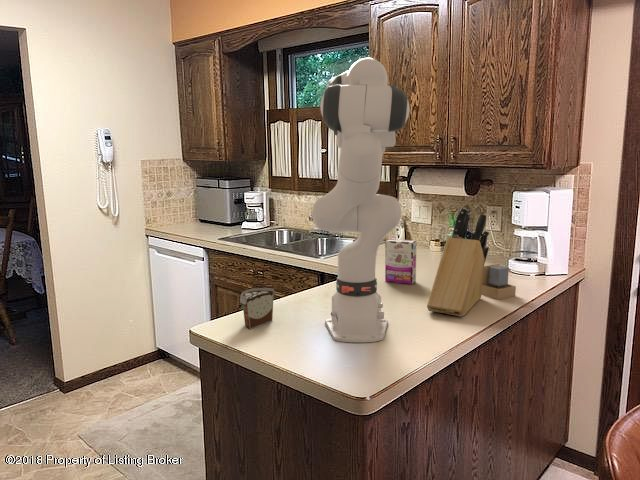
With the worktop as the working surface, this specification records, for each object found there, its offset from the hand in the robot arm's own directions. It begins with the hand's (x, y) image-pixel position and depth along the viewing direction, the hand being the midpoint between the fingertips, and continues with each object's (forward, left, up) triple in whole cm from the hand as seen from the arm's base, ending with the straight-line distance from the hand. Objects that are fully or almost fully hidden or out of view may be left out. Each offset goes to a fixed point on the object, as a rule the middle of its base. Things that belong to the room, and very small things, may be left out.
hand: (366, 161), depth 181 cm
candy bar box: (+16, -14, -48) cm, 52 cm away
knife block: (-11, -31, -48) cm, 58 cm away
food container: (-31, +36, -48) cm, 67 cm away
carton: (-2, -46, -47) cm, 66 cm away
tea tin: (-2, -46, -47) cm, 66 cm away
